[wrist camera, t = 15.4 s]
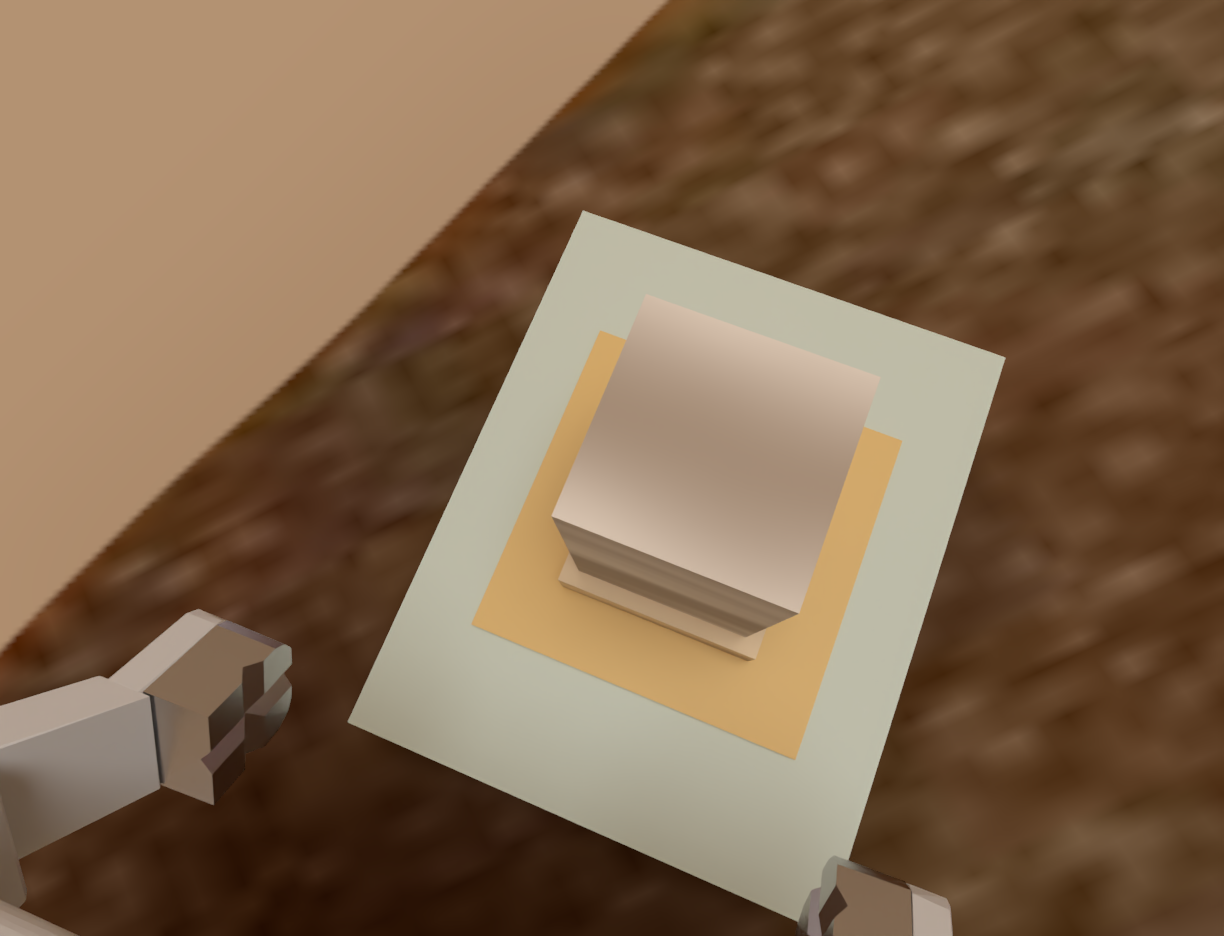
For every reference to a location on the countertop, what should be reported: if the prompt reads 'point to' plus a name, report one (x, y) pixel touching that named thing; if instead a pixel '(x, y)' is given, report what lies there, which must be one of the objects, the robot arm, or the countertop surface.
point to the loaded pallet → (710, 477)
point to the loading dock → (653, 655)
